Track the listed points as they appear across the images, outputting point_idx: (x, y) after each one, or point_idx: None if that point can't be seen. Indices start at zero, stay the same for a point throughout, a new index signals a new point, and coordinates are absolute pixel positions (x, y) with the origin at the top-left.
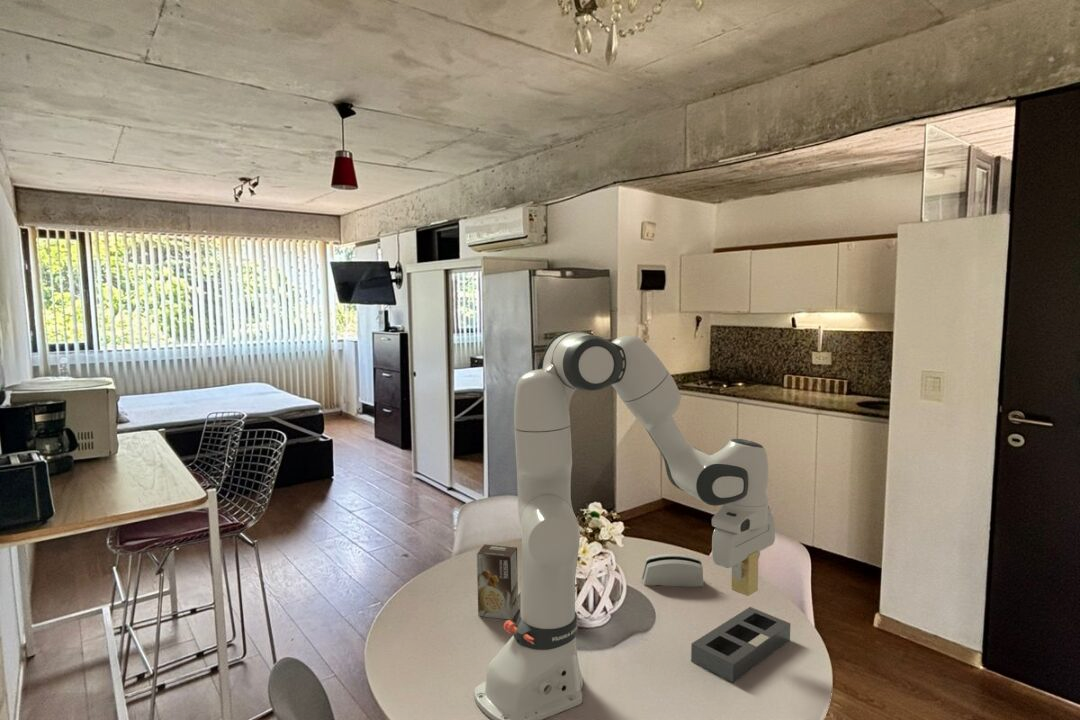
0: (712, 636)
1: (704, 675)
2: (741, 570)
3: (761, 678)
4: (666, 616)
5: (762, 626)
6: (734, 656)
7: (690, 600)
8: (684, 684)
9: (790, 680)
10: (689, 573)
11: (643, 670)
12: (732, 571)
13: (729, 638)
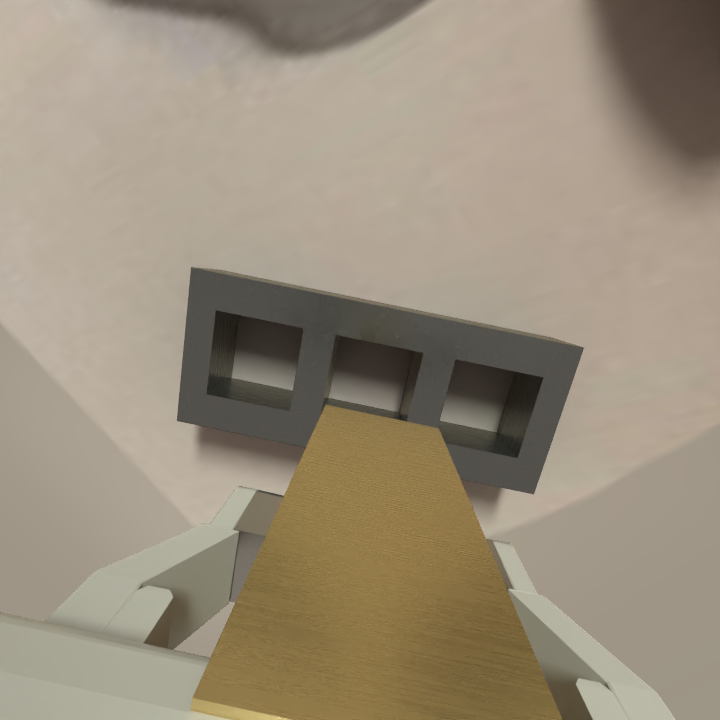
0: (282, 309)
1: (185, 328)
2: (211, 614)
3: (275, 451)
4: (424, 60)
5: (518, 394)
6: (218, 410)
7: (608, 81)
8: (112, 300)
9: None
10: None
11: (80, 170)
12: (298, 469)
13: (308, 362)
